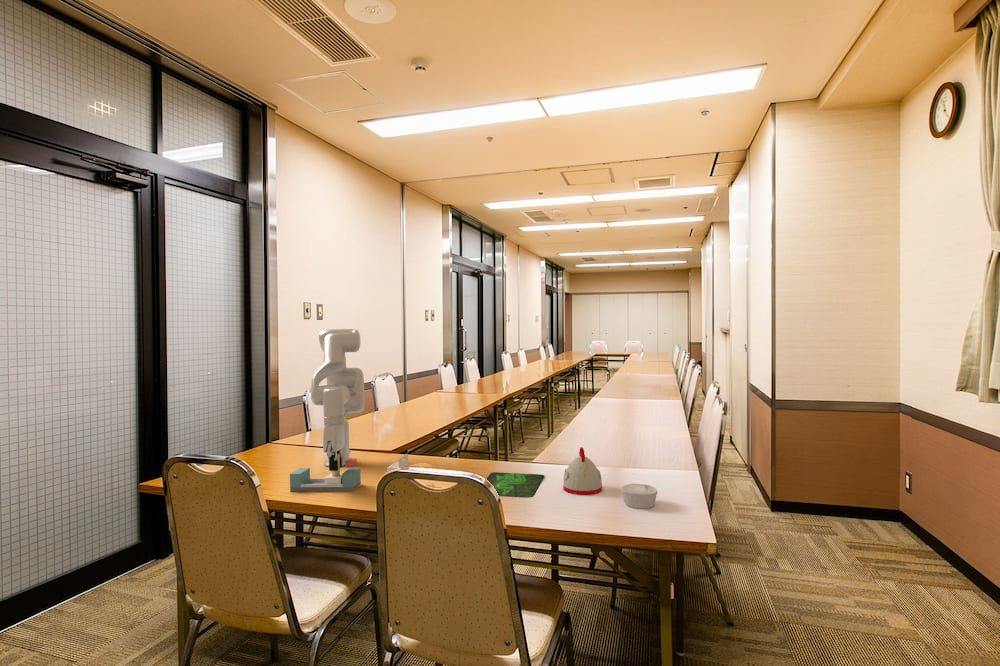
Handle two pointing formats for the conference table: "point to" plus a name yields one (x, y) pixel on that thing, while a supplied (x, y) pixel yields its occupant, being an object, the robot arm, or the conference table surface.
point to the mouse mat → (515, 484)
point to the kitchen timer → (582, 477)
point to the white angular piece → (399, 463)
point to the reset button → (351, 463)
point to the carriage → (335, 475)
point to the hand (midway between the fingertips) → (335, 468)
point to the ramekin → (639, 496)
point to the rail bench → (304, 483)
